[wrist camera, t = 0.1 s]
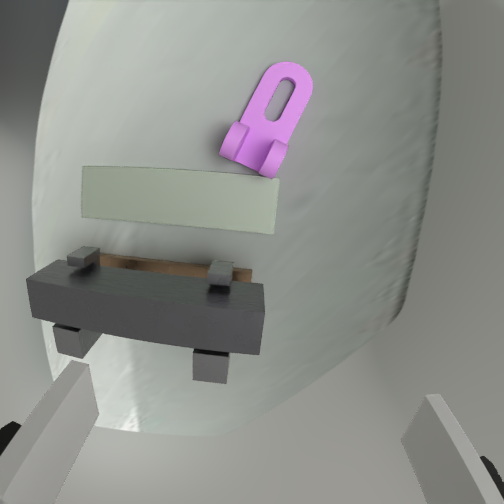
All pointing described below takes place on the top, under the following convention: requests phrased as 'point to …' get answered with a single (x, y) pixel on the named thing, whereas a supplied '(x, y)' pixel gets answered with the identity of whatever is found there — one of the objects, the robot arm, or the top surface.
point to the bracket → (264, 131)
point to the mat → (181, 197)
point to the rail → (151, 306)
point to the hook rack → (219, 272)
